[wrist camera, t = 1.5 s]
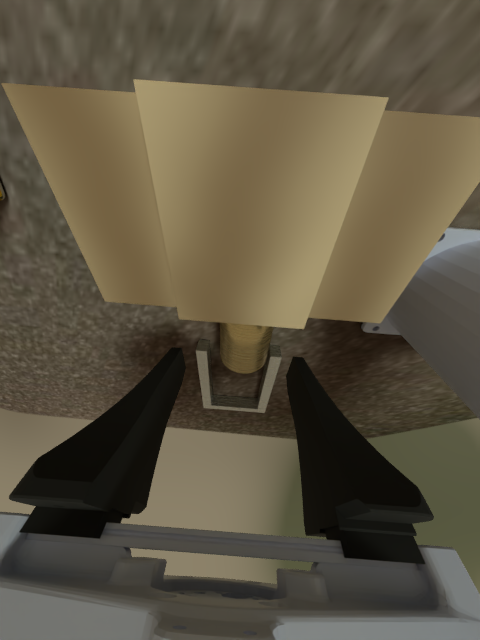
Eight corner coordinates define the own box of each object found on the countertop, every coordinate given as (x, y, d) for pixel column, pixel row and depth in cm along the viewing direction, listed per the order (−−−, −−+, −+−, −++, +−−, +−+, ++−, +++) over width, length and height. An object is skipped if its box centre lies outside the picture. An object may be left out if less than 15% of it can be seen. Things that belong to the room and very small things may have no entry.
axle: (216, 219, 11) (222, 237, 8) (280, 221, 12) (308, 239, 8) (218, 339, 17) (222, 375, 14) (260, 336, 18) (271, 371, 15)
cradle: (279, 346, 18) (281, 357, 16) (264, 402, 24) (264, 412, 23) (199, 339, 18) (195, 350, 17) (205, 397, 24) (203, 407, 23)
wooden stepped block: (379, 150, 9) (570, 110, 4) (332, 268, 13) (391, 336, 7) (133, 131, 9) (-44, 66, 4) (159, 254, 13) (92, 312, 7)
